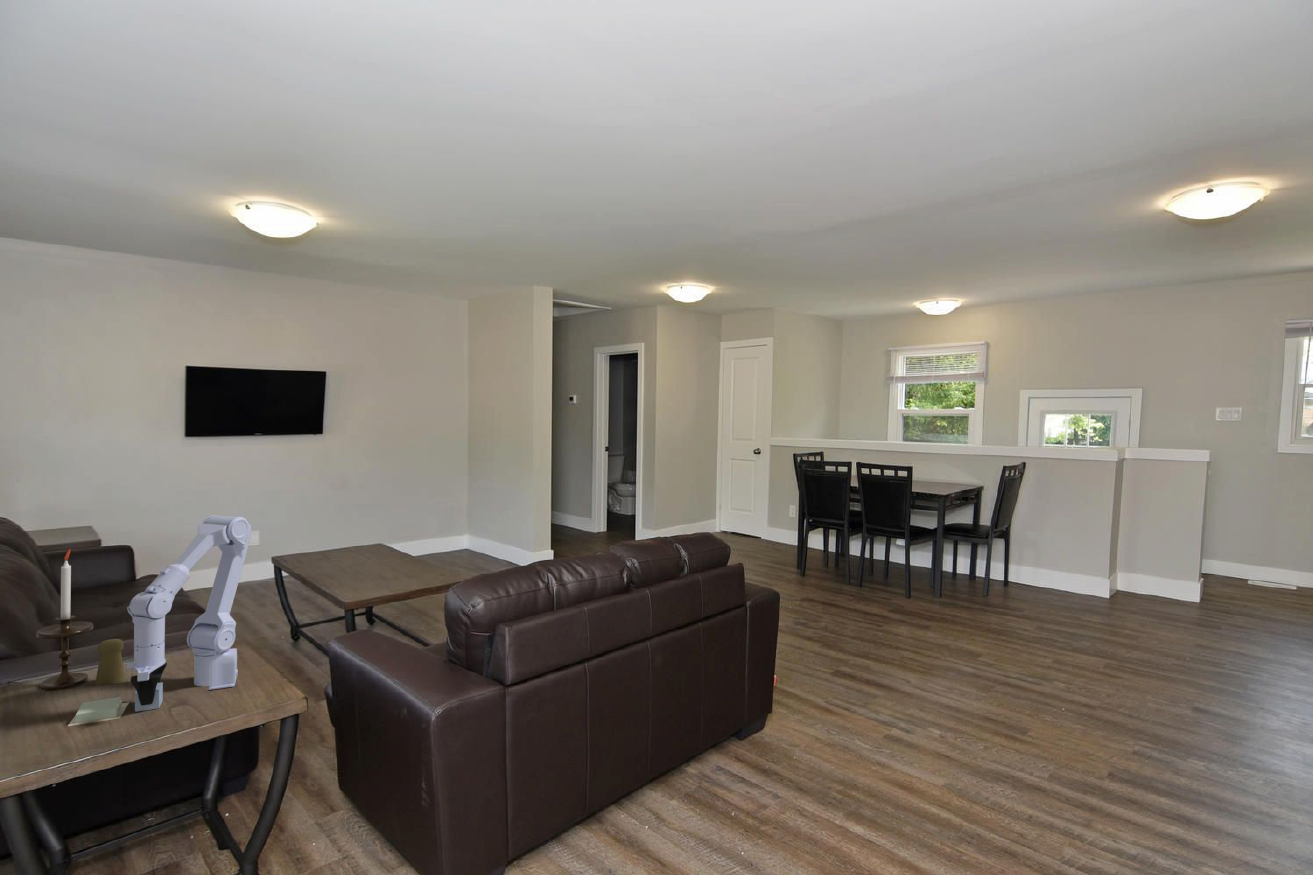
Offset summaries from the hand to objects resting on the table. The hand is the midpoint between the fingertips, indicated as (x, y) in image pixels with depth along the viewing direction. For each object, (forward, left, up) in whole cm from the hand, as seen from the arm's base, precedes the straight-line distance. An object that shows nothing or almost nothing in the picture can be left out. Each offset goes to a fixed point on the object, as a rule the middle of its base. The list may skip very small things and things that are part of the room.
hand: (149, 700), depth 153 cm
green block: (+9, 0, -2) cm, 9 cm away
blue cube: (0, 0, -1) cm, 1 cm away
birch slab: (+9, 0, -4) cm, 10 cm away
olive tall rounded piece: (+12, -25, -3) cm, 28 cm away
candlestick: (+22, -29, -3) cm, 37 cm away
